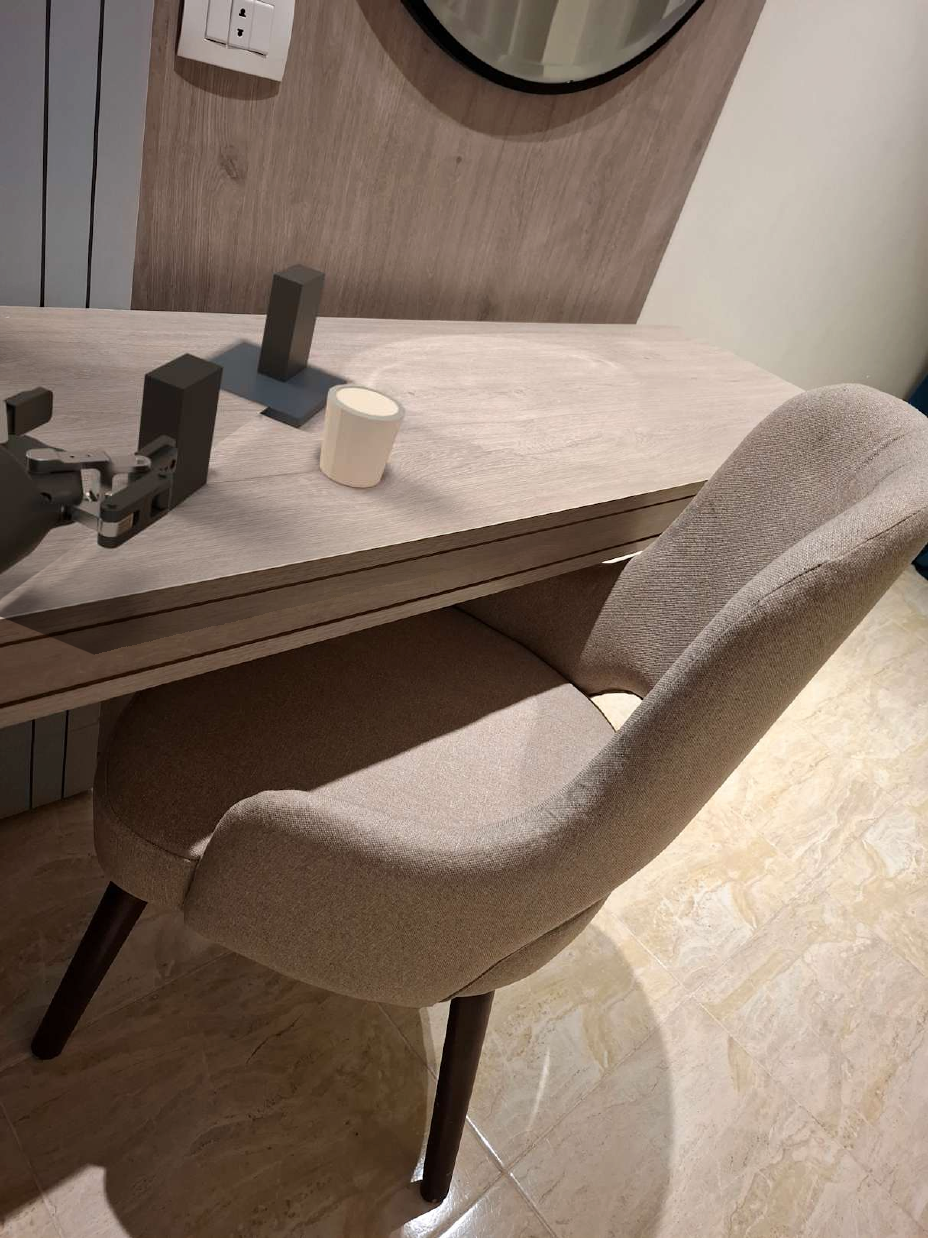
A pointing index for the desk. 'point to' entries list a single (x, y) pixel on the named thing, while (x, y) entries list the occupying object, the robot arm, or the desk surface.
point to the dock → (274, 391)
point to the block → (182, 417)
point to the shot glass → (358, 434)
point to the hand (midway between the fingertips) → (108, 426)
